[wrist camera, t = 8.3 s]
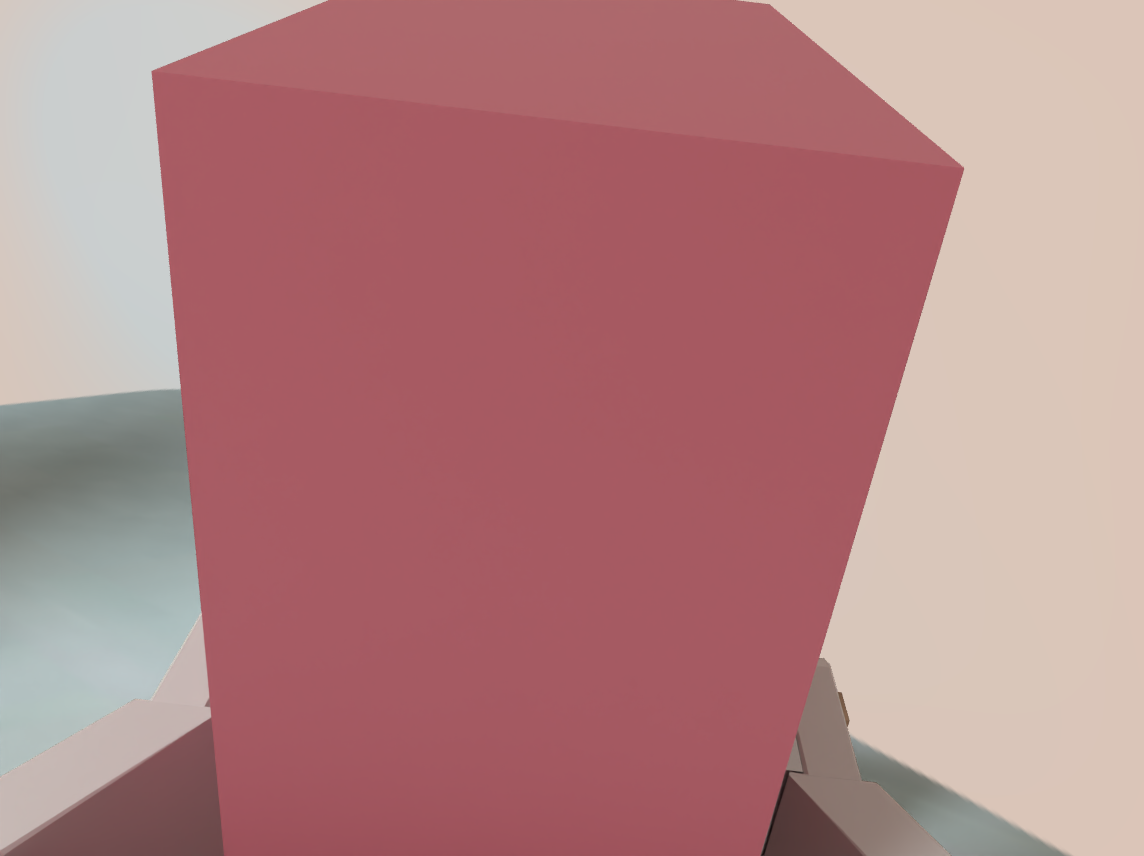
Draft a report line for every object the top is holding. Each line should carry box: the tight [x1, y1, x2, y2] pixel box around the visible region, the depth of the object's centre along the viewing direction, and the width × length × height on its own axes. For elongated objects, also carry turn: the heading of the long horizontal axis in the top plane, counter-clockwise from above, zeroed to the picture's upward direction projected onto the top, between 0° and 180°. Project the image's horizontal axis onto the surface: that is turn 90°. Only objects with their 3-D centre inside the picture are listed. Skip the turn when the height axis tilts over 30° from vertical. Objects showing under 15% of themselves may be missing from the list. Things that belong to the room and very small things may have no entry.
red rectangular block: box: [152, 0, 964, 856], centre depth 10 cm, size 6×3×15 cm, turn 177°
